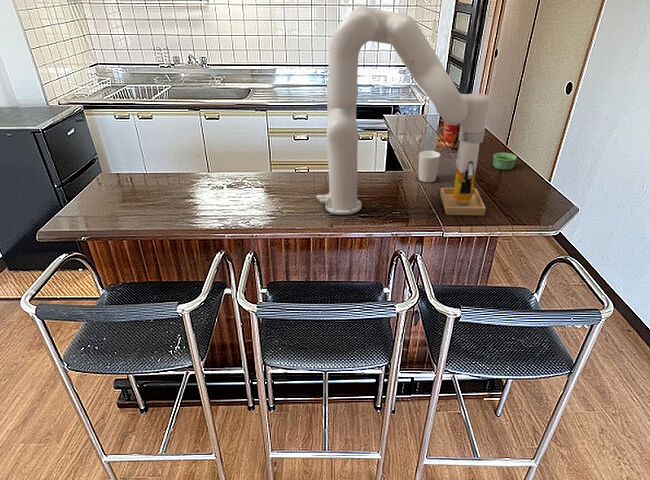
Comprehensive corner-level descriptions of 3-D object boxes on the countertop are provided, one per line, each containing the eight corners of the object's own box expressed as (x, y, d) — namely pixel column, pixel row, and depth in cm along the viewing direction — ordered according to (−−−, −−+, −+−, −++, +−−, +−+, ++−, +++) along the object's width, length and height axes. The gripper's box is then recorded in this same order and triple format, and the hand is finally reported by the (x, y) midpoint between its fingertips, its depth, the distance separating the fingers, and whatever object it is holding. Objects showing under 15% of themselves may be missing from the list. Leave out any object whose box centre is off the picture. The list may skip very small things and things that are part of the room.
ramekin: (517, 170, 175) (520, 159, 173) (495, 170, 175) (497, 160, 173) (510, 162, 183) (512, 152, 180) (489, 163, 183) (490, 152, 180)
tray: (446, 214, 144) (447, 207, 143) (440, 194, 158) (441, 187, 156) (484, 215, 143) (485, 208, 142) (475, 194, 157) (476, 188, 155)
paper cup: (438, 138, 212) (441, 109, 204) (452, 137, 214) (455, 107, 206) (446, 143, 206) (449, 113, 198) (460, 141, 207) (464, 111, 200)
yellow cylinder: (458, 205, 147) (464, 162, 138) (449, 198, 151) (454, 156, 143) (474, 203, 148) (481, 160, 140) (465, 196, 153) (471, 154, 145)
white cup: (436, 175, 173) (439, 150, 167) (438, 183, 166) (441, 157, 161) (416, 175, 174) (418, 150, 168) (417, 182, 167) (419, 157, 162)
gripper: (455, 127, 145) (448, 178, 155) (463, 144, 131) (455, 199, 140) (478, 127, 144) (470, 179, 154) (489, 144, 130) (479, 199, 140)
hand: (463, 188), depth 147 cm, fingers closed on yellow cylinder, 6 cm apart
